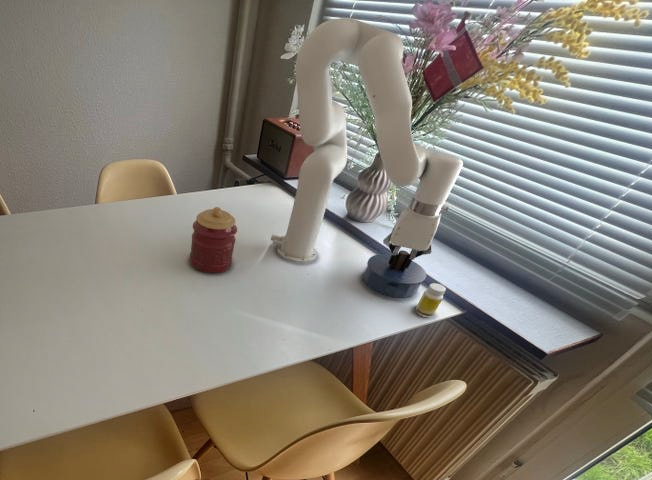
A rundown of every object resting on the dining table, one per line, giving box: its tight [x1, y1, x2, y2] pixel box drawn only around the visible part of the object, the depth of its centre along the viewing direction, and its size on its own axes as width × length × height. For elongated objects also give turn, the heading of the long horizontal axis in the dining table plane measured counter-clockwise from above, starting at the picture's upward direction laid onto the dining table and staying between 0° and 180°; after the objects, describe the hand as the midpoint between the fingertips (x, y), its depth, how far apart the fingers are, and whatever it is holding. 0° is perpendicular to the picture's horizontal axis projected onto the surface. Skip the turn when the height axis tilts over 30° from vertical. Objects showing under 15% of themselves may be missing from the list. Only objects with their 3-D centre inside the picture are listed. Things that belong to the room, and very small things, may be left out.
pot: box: [362, 265, 422, 300], centre depth 127 cm, size 15×21×5 cm
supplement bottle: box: [415, 282, 447, 318], centre depth 116 cm, size 5×5×8 cm
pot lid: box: [366, 249, 427, 285], centre depth 123 cm, size 16×16×6 cm
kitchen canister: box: [189, 206, 238, 274], centre depth 126 cm, size 13×13×18 cm
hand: (397, 267), depth 124 cm, fingers closed on pot lid, 2 cm apart
